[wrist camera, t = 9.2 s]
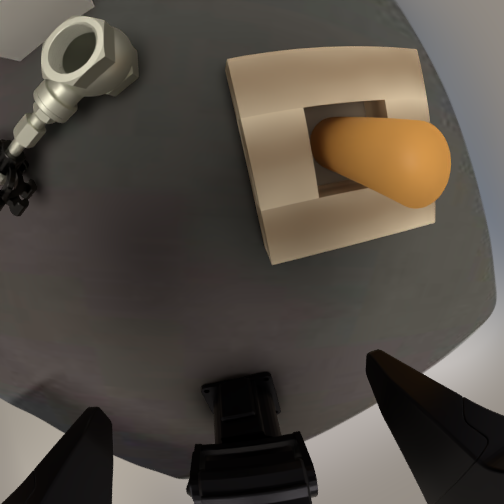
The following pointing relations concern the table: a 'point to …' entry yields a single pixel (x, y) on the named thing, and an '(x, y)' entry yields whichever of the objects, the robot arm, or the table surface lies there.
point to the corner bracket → (33, 23)
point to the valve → (66, 92)
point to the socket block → (299, 149)
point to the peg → (386, 156)
